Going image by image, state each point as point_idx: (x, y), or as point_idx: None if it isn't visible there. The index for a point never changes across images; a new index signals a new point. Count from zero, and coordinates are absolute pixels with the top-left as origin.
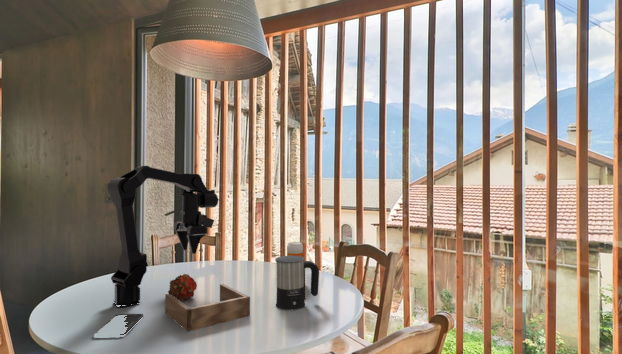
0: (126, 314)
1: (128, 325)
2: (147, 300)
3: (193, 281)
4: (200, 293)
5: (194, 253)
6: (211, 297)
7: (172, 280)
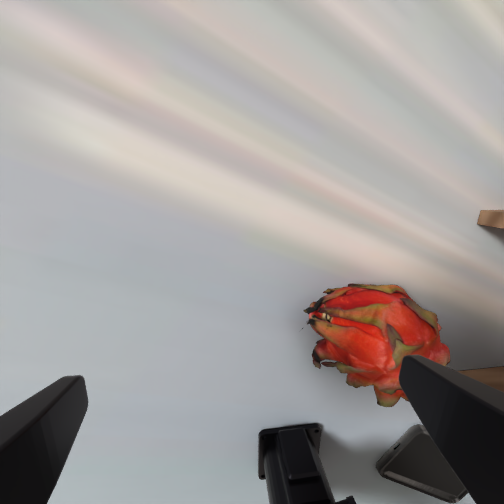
0: (393, 458)
1: None
2: (295, 402)
3: (437, 321)
4: (343, 242)
5: (413, 365)
6: (416, 228)
7: (392, 403)
